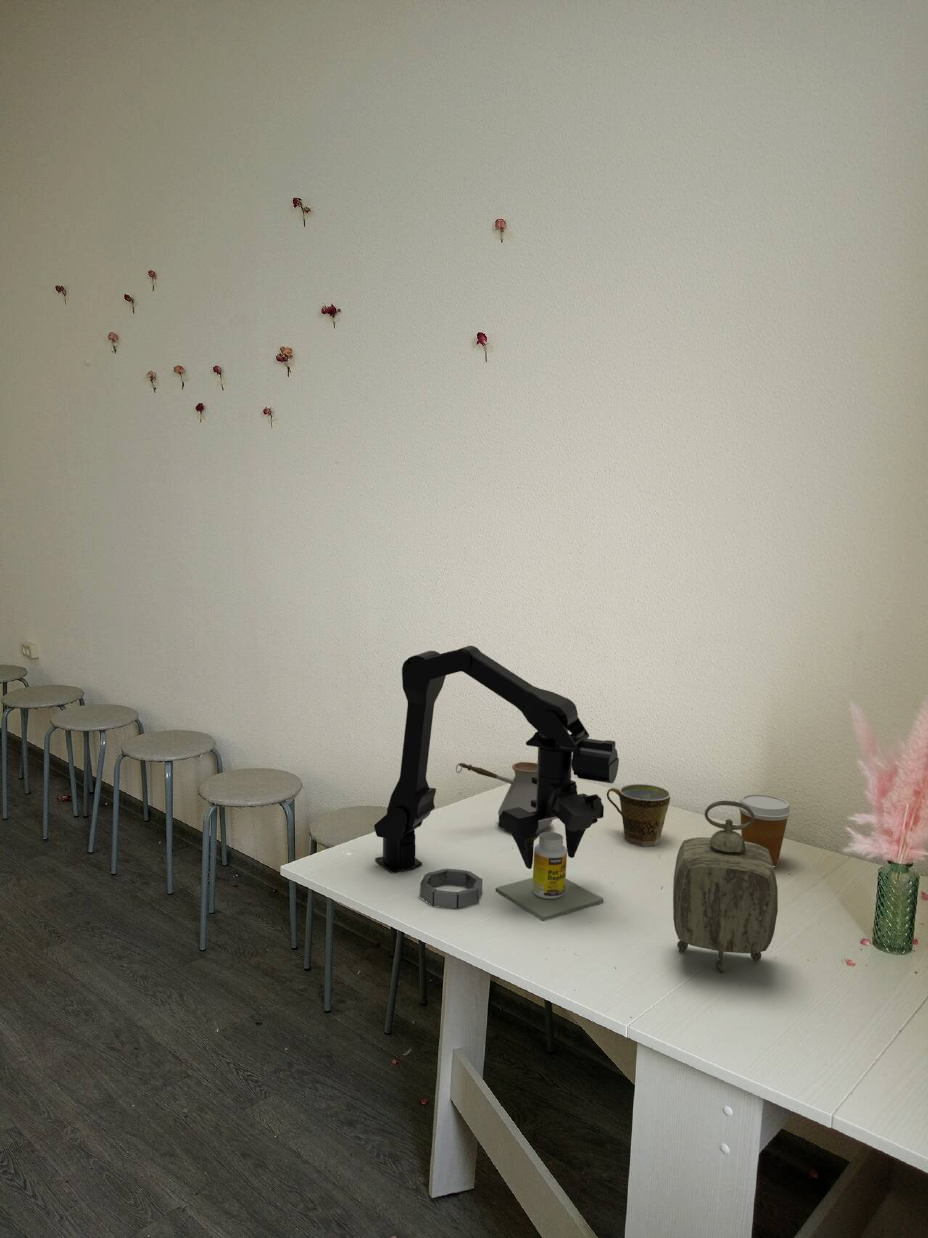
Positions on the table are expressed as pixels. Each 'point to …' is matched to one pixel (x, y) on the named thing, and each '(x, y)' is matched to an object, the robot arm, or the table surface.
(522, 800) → the grey turkish cezve
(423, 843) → the table surface
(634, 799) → the ceramic cup
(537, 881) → the supplement bottle
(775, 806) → the disposable coffee cup
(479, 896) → the collar
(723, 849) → the tabletop clock
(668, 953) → the table surface
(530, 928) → the table surface
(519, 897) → the mat
